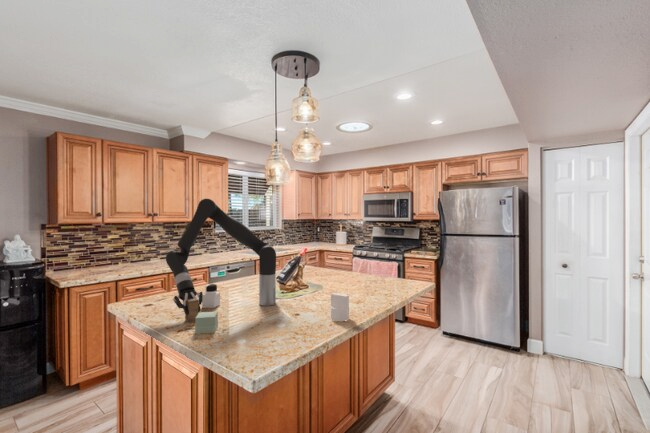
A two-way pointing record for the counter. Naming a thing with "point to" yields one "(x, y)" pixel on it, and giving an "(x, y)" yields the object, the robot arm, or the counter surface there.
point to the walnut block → (191, 310)
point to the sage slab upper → (206, 318)
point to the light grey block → (339, 307)
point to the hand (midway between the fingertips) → (193, 312)
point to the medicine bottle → (211, 297)
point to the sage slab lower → (206, 328)
